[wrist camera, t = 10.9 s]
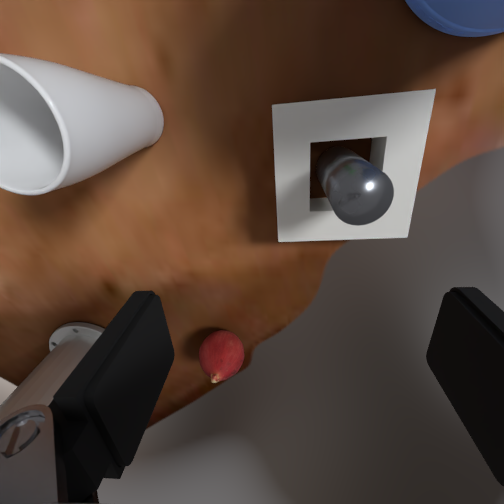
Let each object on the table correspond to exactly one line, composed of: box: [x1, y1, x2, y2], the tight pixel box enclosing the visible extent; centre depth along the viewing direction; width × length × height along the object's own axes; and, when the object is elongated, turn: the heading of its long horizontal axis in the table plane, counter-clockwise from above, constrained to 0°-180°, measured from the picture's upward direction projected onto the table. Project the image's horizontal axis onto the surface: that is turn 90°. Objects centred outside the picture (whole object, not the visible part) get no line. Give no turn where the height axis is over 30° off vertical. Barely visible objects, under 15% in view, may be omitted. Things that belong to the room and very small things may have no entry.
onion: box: [199, 330, 244, 383], centre depth 36 cm, size 6×6×8 cm
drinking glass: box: [0, 53, 164, 195], centre depth 20 cm, size 7×7×15 cm
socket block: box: [272, 89, 436, 242], centre depth 26 cm, size 12×12×4 cm
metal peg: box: [316, 146, 394, 226], centre depth 23 cm, size 4×4×10 cm
